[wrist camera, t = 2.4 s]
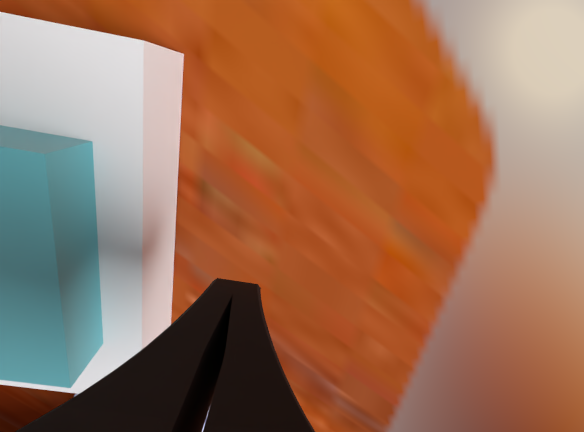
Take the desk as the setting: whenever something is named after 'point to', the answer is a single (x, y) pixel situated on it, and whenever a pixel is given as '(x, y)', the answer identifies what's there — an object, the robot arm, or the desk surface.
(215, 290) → the robot arm
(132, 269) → the white flat block
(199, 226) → the desk surface
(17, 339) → the tile
